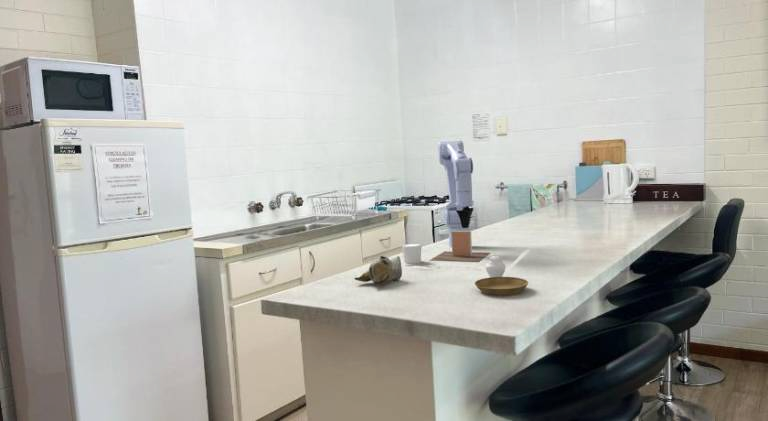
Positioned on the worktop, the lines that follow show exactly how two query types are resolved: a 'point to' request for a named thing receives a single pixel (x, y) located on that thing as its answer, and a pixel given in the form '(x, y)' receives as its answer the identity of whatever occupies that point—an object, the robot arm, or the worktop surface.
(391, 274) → the ceramic sculpture
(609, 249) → the worktop surface
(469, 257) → the walnut board
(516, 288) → the plant saucer
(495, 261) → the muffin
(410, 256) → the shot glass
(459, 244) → the glazed tile
